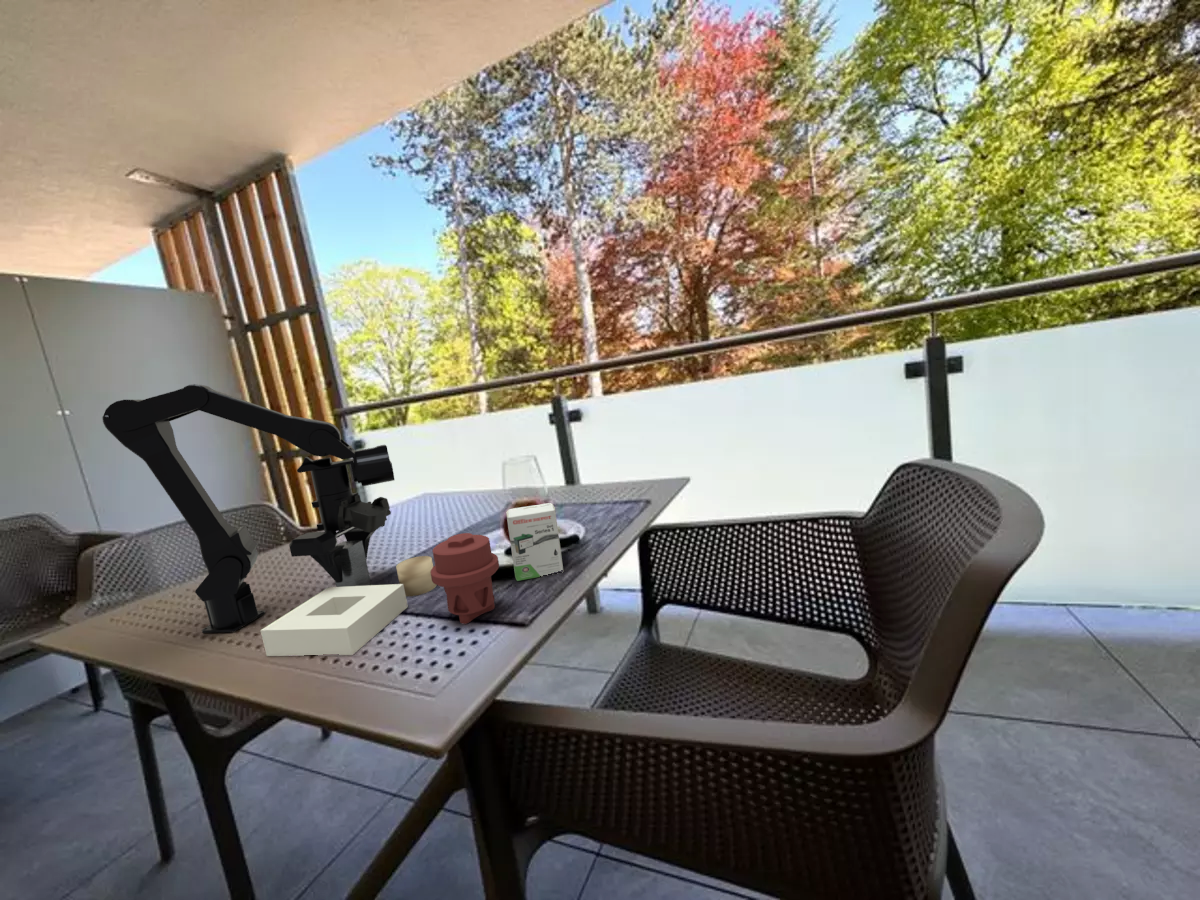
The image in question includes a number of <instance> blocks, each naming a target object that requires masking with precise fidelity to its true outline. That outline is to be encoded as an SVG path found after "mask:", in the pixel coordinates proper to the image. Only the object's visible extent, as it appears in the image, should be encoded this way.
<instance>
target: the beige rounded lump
mask: <svg viewBox="0 0 1200 900" xmlns="http://www.w3.org/2000/svg"><path fill="white" fill-rule="evenodd" d="M433 567H434V564H433V558H432V556H429V555H420V556H414V557H410V558H407V559H405V560H402V561H401V562H399V563H398V564H396V567H395V568H396V572H397V578H398V584H403V585H404V590H405V595H406V597H416V596H421V595H424V594H426V593H429V592H431V591H433V590H434V589H435V588H436V587H437V585H436V584H434V583H433V582H432V578H431V573H430V572H431V569H432V568H433Z"/></svg>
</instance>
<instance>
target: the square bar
mask: <svg viewBox="0 0 1200 900" xmlns="http://www.w3.org/2000/svg"><path fill="white" fill-rule="evenodd" d="M337 544H338V545H344V547H343V549H342V551H341V552H340V560H341V567H342V574H343V581H342V582H340V583H337V582H335V581H334V583H335V587H345V586H368V585H372V582H371V581H372V580H371V577H370V573H369V568H368V567H369V566H368V563H367V560H366V557H365V552H364V547H363V543H362V540H358V541H347V540H345V541H341V542H339V543H337Z"/></svg>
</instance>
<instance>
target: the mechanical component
mask: <svg viewBox="0 0 1200 900" xmlns="http://www.w3.org/2000/svg"><path fill="white" fill-rule="evenodd" d="M490 542H491V541H490V538H489V537H488V536H486V535H483V534H473V533H470V532H465V533H458V534H454V535H451V536H450V537H448V538H447V539H446V540H444V541H442V542H440V543H438V544H437V545H435V547H433V549H432V555H433V561H434V565H433V568H432V569H431V572H430V573H431V578H432V582H433V583H434V584H436V586H439V587H441V588H443V589H444V592H445V594H446V605H447V610H448V612H449V613H450V614H453V615H454V616H455V615H456V616H458V618H459V623H460V624H462V625H466V624H470V623H471V622H472V621H474V619H476V618H477V617H480V616H481V615H483V614H486V613H488V612H492V611H493V610H495V608H496V606H495V605H496V604H495V595H494V589H493V582H492V576H493V575H494V574H496V572H497V571H498V570H499V568H500V562H499V557H498V555H497V554H495V553H493V552H492V548H491V543H490Z"/></svg>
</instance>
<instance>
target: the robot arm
mask: <svg viewBox="0 0 1200 900" xmlns="http://www.w3.org/2000/svg"><path fill="white" fill-rule="evenodd" d="M198 411H199V412H200V411H201V412H203V413H205V414H209V415H212V416H215V417H218V418H222V419H225V420H226V421H227V420H228V421H231V422H234V423H237V424H240V425H243V426H246V427H249V428H253V429H256V430H259V431H262V432H265V433H268V434H271V435H274V436H277V437H279V438H281V439H283V440H285V441H286V442H288V443H290V444H291V445H293V446H295V447H297V448H298V449H301V450H303V451H304V452H307V453H308V454H311V455H313V456H316V457H325V458H319V459H312V458H310V457H308V456H305V457H304V459H303V461H302V463H301V465H300V466H299V467H298V468H297V469H296V471H297V472H296V473H298V474H302V473H308V472H310V474H311V480H312V484H313V488H314V493H315V498H316V500H314V501H311V506H312V507H311V508H312V509H314V508H318V511H319V515H320V521H321V522H319V523H317V524H316V528H317V531H315V532H314V531H313V532H306V533H304V534H302V535H298V536H297V537H295V538H292V540H291V541H290V543H289V544H288V546H289V551H290V555H291V557H293V558H294V557H311V558H312V559H313V560H314V561H315V562H316V563H318V564H319V565H320V566H321V567H322V569H324V571H325V572H326V573H327V574H328V575H329V576H330V577H331V579H333V581H334V583H335V582H337V583H340V582H342V581H343V574H342V567H341V560H340V552H341V551H342V549H343V547H344V545H338V544H339V543H338V540H337V539H338V538H340V537H342V536H344V538H345V541H358V540H362V543H363V547H364V552H365V557H366V561H367V559H368V553H369V546H370V540H371V537H372V536H373V535H374V534H375V532H376V531H377V530H378V529H380V528H383V527H385V526H386V521H387V520H388V518H387V517H388V516H389V515H392V514H391V513H392V512H391V510H390V507H391V506H390V503H389V501H388V498H387V497H383V496H378V498H374V499H373V501H368V502H365V501H362V498H361V496H360V494H359V493H358V492H353V490H352V484H351V480H350V475H349V470H348V465H350V468H351V473H352V478H353V482H354V483H357V484H361V487H368V486H371V485H377V484H383V483H387V482H394V481H395V475H394V474H395V473H394V468H393V464H392V461H391V459H390V454H389V451H388V446H387V445H386V444H380V445H377V446H374V447H368V448H363V449H358V450H355V449H354V448H353V446H352V445H350V444H348V443H347V442H346V441H345V440H343V438H342V436H341V432H340V430H339V428H338V427H337V425H335V424H333V423H332V422H329V421H324V420H317V419H312V418H306V417H299V416H294V415H288V414H285V413H282V412H279V411H276V410H273V409H270V408H267V407H264V406H262V405H259V404H255V403H253V402H250V401H247V400H244V399H241V398H238V397H236V396H232V395H230V394H227V393H223V392H221V391H217V390H216V389H214V388H213V389H212V388H211V387H210V386H207V385H203V384H198V383H197V384H195V383H193V384H188V385H185V386H184V387H183V388H179V389H177V390H173V391H170V392H166V393H162V394H159V395H155V396H152V397H149V398H145V399H122V400H118V401H115V402H113V403H111V404H109V406H108V407H107V408H106V409H105V410H104V414H103V416H102V417H101V419H102V424H103V425H104V427H105V428H106V430H107V431H108V432H109V433H110V434H111V435H112V436H113V437H114V438H115V439H116V440H117V441H118V442H119V443H120V444H121V445H122V446H124V447H125V448H126V449H128V450H129V451H131V452H132V453H133V454H135V455H136V456H138V457H139V458H140V459H141V460H143V462H145V464H146V465H147V467H148V468H149V470H150V472H151V473H152V474H153V476H154V477H155V478H156V480H157V482H158V483H159V484H160V485H161V486H162V488H163V489H164V491H165V492H166V494H167V496H168V497H169V498H170V500H171V501H172V503H173V505H175V507H176V508H177V510H178V511H179V512H180V515H182V517H183V519H185V521H186V522H187V524H188V525H189V527H190V528H191V530H192V532H193V533H194V534H195V535H196V538H197V539H198V543H199V549H200V553H201V557H202V560H203V562H204V565H205V567H206V570H207V572H208V574H207V576H206V577H205V578H204V579H203V580H202V582H201V583H200V584H199V585H198V587H197V588H196V589H195V591H194V593H195V594H196V596H197V597H198V598H199V599H200V600H201V601H202V602H203V603H204V607H205V610H206V614H207V618H208V621H209V625H208V626H206V627H204V628H202V629H201V633H203V634H206V633H209V634H210V633H235V632H236V631H238V630H239V628H240V629H241V628H243V627H245V626H246V625H248V624H250V623H252V622H253V621H255V620H256V619H258V618H260V617H261V616H264V615H265V614H266V611H265V610H263V609H262V610H261V609H260V610H258V608H257V605H256V599H255V596H254V595H255V594H254V593H253V592H252V588H251V585H250V583H247V582H246V581H244V580H246V578H247V577H248V575H249V574H250V572H251V570H252V569H253V567H254V565H255V564H256V561H257V559H258V550H257V546H259V542H258V541H256V540H254V539H253V538H252V536H251V533H250V531H249V530H248V529H249V528H248V527H247V526H246V525H242V526H241V527H239V528H238V529H237V528H235V526H233V525H232V524H230V523H229V522H228V521H227V520H226V519H225V517H224V516H223V514H222V513H221V511H220V510H219V509H218V507H217V506H216V504H215V503H214V501H213V500H212V498H211V496H210V495H209V494H208V493H207V491H206V489H205V488H204V487H203V485H202V484H201V482H200V480H199V479H198V477H197V476H196V474H195V473H194V471H193V470H192V468H191V466H190V465H189V464H188V462H187V461H186V459H185V458H184V456H183V455H182V453H181V452H180V451H179V449H178V446H177V442H176V438H175V433H174V430H173V427H172V424H171V422H172V421H174V420H178V419H180V418H182V417H183V418H184V417H185V416H188V415H190V414H194V413H196V412H198ZM327 456H333V457H335V458H338V459H339V460H338V461H332V459H331V457H327ZM249 622H250V623H249ZM247 623H248V624H247ZM244 625H245V626H244ZM242 626H243V627H242Z"/></svg>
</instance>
